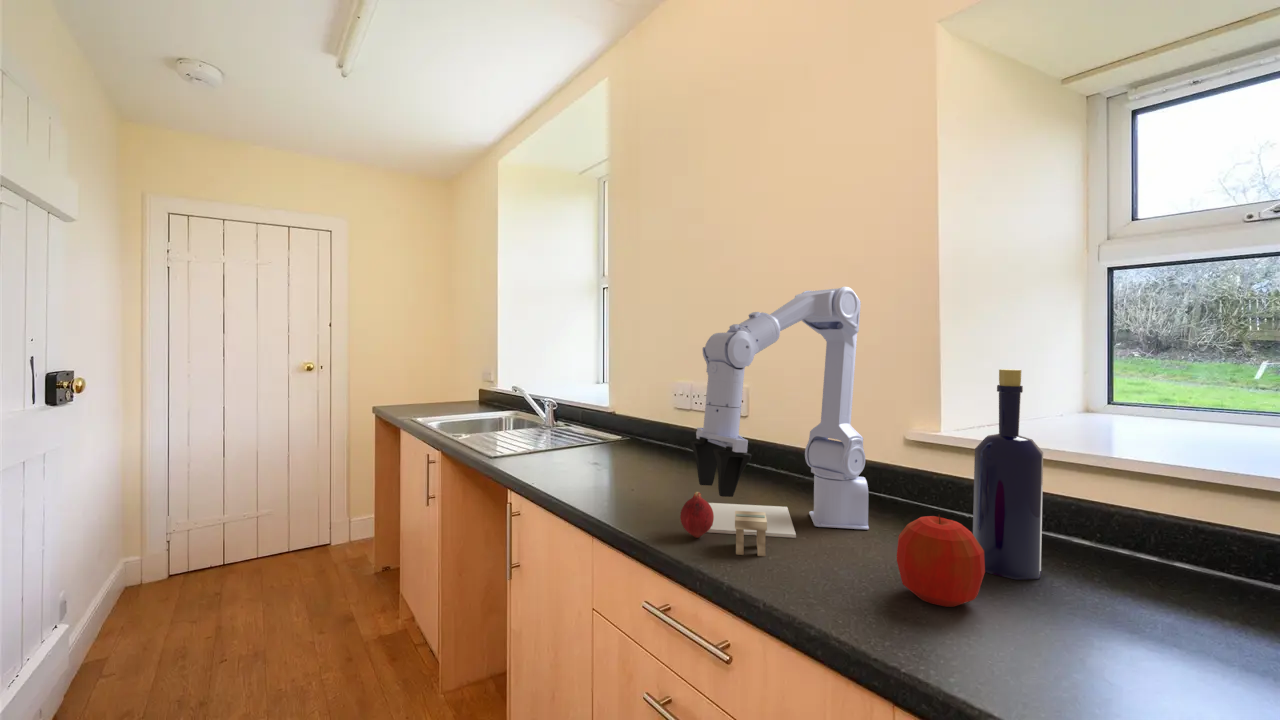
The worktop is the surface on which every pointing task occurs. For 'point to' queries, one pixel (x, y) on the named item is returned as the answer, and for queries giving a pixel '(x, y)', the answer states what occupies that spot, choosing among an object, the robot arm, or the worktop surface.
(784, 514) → the mat
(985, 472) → the bottle
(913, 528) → the apple
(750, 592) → the worktop surface
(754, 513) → the stool
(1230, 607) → the worktop surface
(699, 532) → the onion
